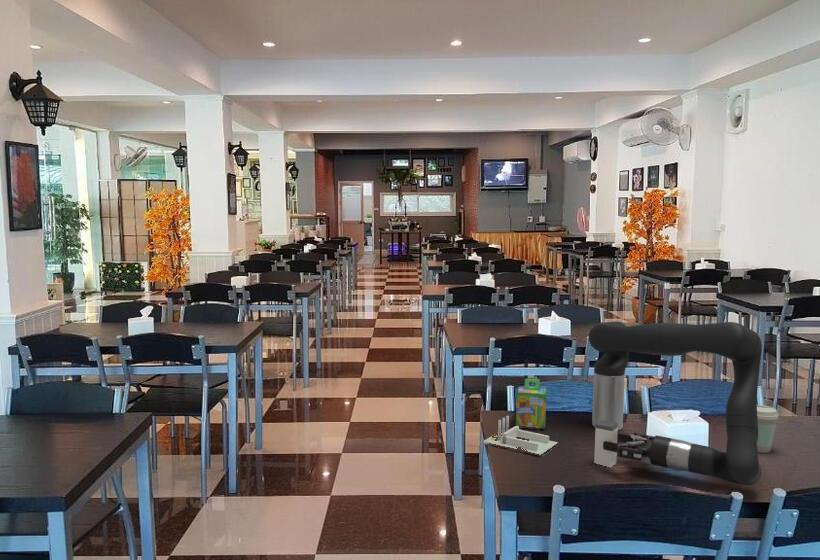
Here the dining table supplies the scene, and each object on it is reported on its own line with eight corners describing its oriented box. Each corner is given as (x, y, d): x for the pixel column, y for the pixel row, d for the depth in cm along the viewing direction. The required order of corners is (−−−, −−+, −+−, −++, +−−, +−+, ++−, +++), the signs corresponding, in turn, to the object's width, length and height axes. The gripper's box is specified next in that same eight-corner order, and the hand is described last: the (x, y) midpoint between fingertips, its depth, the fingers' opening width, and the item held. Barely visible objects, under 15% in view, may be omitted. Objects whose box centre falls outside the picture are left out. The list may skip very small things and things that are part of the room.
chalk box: (515, 428, 207) (516, 382, 206) (517, 420, 216) (518, 375, 215) (545, 431, 205) (546, 384, 204) (546, 422, 214) (547, 376, 213)
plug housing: (599, 459, 182) (601, 420, 181) (616, 462, 180) (617, 423, 179) (594, 464, 179) (595, 424, 177) (610, 468, 176) (612, 427, 175)
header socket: (540, 457, 183) (541, 433, 183) (482, 443, 194) (483, 421, 193) (557, 445, 193) (558, 422, 192) (502, 432, 203) (502, 411, 203)
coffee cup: (779, 449, 191) (782, 408, 190) (771, 457, 185) (774, 414, 184) (747, 442, 197) (750, 402, 196) (738, 449, 191) (740, 408, 190)
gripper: (679, 431, 174) (618, 420, 184) (665, 447, 163) (600, 434, 172) (678, 459, 175) (616, 446, 184) (664, 476, 163) (599, 462, 173)
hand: (608, 440), depth 178 cm, fingers open, 8 cm apart
